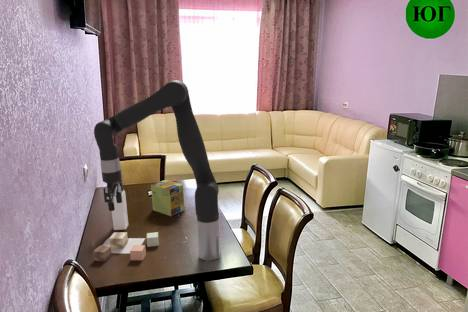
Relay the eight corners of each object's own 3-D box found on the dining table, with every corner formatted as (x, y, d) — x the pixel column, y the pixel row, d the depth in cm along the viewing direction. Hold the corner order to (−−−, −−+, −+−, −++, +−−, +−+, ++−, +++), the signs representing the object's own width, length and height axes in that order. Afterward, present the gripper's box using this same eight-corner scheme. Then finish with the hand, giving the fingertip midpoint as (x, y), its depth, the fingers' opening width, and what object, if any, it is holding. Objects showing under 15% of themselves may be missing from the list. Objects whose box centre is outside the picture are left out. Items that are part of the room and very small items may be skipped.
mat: (145, 239, 173) (145, 238, 173) (136, 254, 159) (136, 253, 159) (108, 239, 174) (108, 238, 174) (95, 254, 160) (95, 253, 160)
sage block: (158, 241, 171) (157, 232, 169) (158, 247, 166) (158, 236, 165) (147, 243, 170) (146, 233, 168) (147, 248, 165) (146, 238, 164)
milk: (116, 225, 188) (112, 185, 183) (128, 225, 189) (124, 184, 183) (113, 231, 182) (108, 189, 177) (126, 230, 183) (121, 188, 177)
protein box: (171, 216, 198) (169, 189, 194) (152, 210, 207) (150, 184, 203) (185, 210, 206) (183, 184, 202) (166, 204, 215) (164, 179, 211)
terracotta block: (146, 255, 159) (145, 245, 157) (142, 261, 154) (141, 251, 153) (134, 255, 159) (133, 245, 158) (131, 261, 154) (129, 250, 153)
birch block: (128, 242, 169) (127, 232, 168) (123, 248, 164) (122, 238, 162) (115, 242, 170) (114, 232, 168) (110, 248, 164) (109, 238, 163)
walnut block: (111, 257, 158) (110, 246, 157) (105, 263, 153) (104, 252, 152) (101, 255, 159) (100, 245, 158) (94, 261, 155) (93, 251, 153)
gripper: (113, 174, 142) (118, 213, 146) (126, 164, 155) (130, 200, 160) (94, 174, 142) (100, 213, 146) (108, 164, 156) (113, 200, 160)
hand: (115, 206), depth 153 cm, fingers open, 8 cm apart
